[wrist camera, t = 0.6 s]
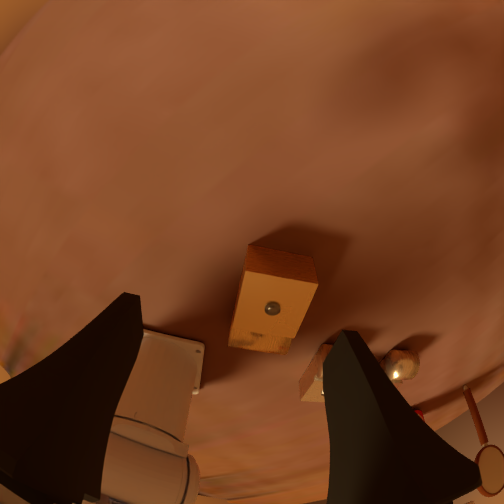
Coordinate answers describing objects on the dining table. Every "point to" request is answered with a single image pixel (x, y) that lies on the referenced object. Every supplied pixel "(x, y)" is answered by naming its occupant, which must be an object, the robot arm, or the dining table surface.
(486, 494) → the magnifying glass
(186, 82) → the dining table surface
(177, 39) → the dining table surface
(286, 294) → the wooden block with screw
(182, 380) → the robot arm
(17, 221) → the dining table surface
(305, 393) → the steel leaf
